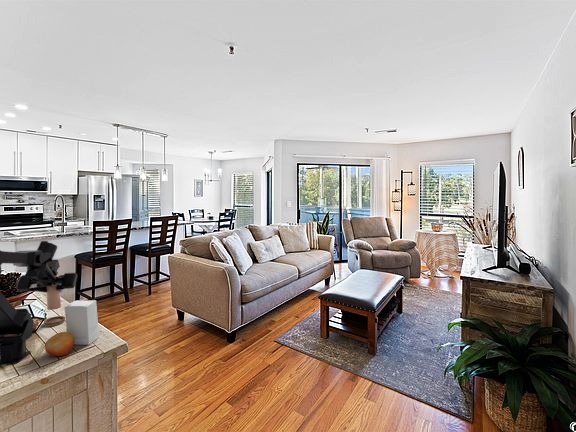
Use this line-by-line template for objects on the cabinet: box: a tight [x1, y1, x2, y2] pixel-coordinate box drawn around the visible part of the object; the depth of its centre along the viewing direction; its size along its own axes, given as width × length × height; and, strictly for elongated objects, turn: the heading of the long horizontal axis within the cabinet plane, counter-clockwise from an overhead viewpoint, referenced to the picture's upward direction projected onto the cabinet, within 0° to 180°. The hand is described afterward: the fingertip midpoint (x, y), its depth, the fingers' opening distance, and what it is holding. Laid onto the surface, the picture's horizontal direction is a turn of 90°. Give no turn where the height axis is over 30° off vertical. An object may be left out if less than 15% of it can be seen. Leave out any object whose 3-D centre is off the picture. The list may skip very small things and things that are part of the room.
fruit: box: [44, 331, 74, 357], centre depth 101 cm, size 8×8×8 cm
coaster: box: [43, 315, 66, 327], centre depth 123 cm, size 7×7×1 cm
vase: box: [46, 274, 62, 311], centre depth 122 cm, size 4×4×14 cm
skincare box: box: [64, 299, 100, 346], centre depth 108 cm, size 8×6×15 cm
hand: (55, 291), depth 123 cm, fingers closed on vase, 4 cm apart
